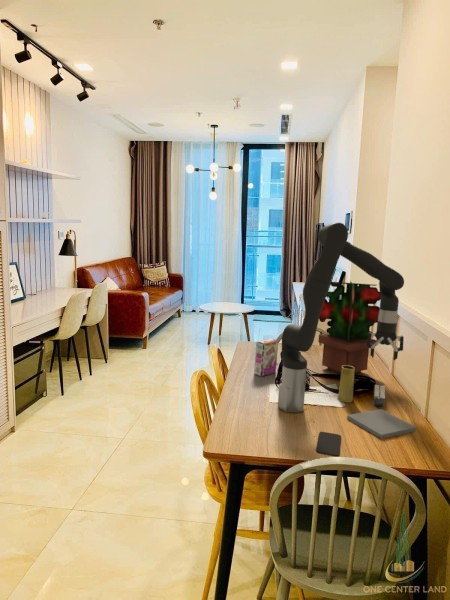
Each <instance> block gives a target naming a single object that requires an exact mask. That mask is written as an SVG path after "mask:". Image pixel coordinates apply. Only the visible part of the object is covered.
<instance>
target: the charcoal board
mask: <svg viewBox="0 0 450 600" xmlns="http://www.w3.org/2000/svg"><path fill="white" fill-rule="evenodd" d="M346 420H348V421H350V422H351V421H352V423H353V424H355V425H356V424H357V426H358V427H360V428H362V429H363V428H364V430H365V429H366V430H365V431H367V430H368V431H369V432H368V431H367V432H368V433H370V432H371V433H370V434H372V433H373V434H374V435H373V434H372V435H373V436H375V435H376V436H375V437H377V436H378V437H380V438H383V439H387V438H392V437H396V436H400V435H405V434H409V433H415V432H417V426H415V425H414V424H411V423H409V422H407V421H405V420H403V419H402V418H399V417H397V416H395V415H393V414H392V413H390V412H387V411H386V410H384V409H383V408H380V409H379V408H378V409H373V410H370V411H369V410H368V411H363V412H357V413H352V414H348V415H347V417H346ZM378 437H377V438H378ZM386 437H387V438H386ZM380 438H379V439H380Z"/></svg>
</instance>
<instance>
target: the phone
mask: <svg viewBox="0 0 450 600" xmlns="http://www.w3.org/2000/svg"><path fill="white" fill-rule="evenodd" d="M316 442H317V443H316V448H315V452H316V453H317V454H320V455H326V456H333V457H339V456H340V451H341V444H342V443H341V442H342V436H341V435H340V434H338V433H332V432H326V431H320V432H318V437H317V441H316Z"/></svg>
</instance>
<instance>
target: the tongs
mask: <svg viewBox="0 0 450 600" xmlns="http://www.w3.org/2000/svg"><path fill="white" fill-rule="evenodd" d="M385 389H386V387H385V385H379V384H374V390H373V393H374V394H373V406H374V407H375V408H378V409H379V408H380V409H383V408H384V407H385V401H386V394H385V393H386V390H385Z"/></svg>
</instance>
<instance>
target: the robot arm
mask: <svg viewBox="0 0 450 600" xmlns="http://www.w3.org/2000/svg"><path fill="white" fill-rule="evenodd" d="M348 238H349V231H348V227H347V225H345V224H344V223H342V222H334V223H330V224H328V225H325V226H323V227H321V228H320V229H319V231H318V234H317V239H318V242H319V244H320V245H321V246H323V247H322V251H321V253H320V255H319V256H318V258H317V260H316V262H315V263H314V264H313V266H312V268H311V269H310V271H309V272H308V275H307V276H306V279H305V282H304V286H303V288H302V299H303V304H304V310H305V311H304V317H303V322H302V325H298V324H294V323H290V324H287V325H286V326H285V327H284V329H283V332H282V336H281V360H282V370H281V371H282V372H281V373H282V375H281V383H279V385H278V396H277V397H278V399H277V408H279V409H280V410H282V411H283V412H285V413H295V414H296V413H301V412H303V411H304V407H305V406H304V405H305V394H306V382H307V381H306V380H307V371H308V369H307V368H308V360H307V358H305V356H303V354H302V353H301V352H303V353H305V352H308V351H309V350H310V349H311V347H312V346H313V344H314V341H315V339H316V338H315V336H316V333H317V328H318V325H319V321H320V320H319V317H320V313H321V310H322V307H323V304H324V301H325V299H326V298H327V293H328V292H329V289H330V286H331V284H330V283H331V282H332V280H333V276H334V274H335V271H336V268H337V265H338V261H339V259H340V257H343V258H344V259H346V260H348V261H349V262H351V263H352V264H354V265H355V266H357V268H359V269H360V270H362V271H363V272H365V273H366V274H367V275H368V276H370V277H371V278H373V279H376V280H378V281H379V282H378V287H379V289H378V290H379V292H380V297H381V300H379V301H380V302H379V308H380V309H379V314H378V322H377V323H376V324H377V325H376V331H375V332H373V333H371V332H372V331H371V332H369V333H368V339H367V347H370V351H369V354H370V355H369V356H370V357H371V358H373V359H374V356H375V355H374V354H375V348H376V347H377V346H378V345H379V344H380V345H383V346H384V345H386V346H391V347H392V348H393V350H394V351H393V357H392V358H393V361H396V360H397V359H398V354H399V352H403V351H404V338H405V337H404V336H403V335H397V326H398V314H399V313H398V312H399V311H398V310H399V304H400V303H399V297H398V296H397V295H396V291H399V290H400V289H402V288H403V287H404V285H405V279H404V277H403V275H402V274H400V273H399V272H398V271H396V270H395V269H394V268H391V267H389V266H388V265H386V264H385V263H384V262H383V261H381V260H380V259H379V258H377V256H374V255H373V254H371V253H370V252H368V251H366V250H363V249H362V248H359V247H358V246H356V245H353V244H351V243H350V242H349V241H348ZM374 337H375V340H376V341H375V342H374V343H373V344H370V340H371V339H374ZM396 340H397V341H398V342H399V347H397V345H396V343H395V341H396Z"/></svg>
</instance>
